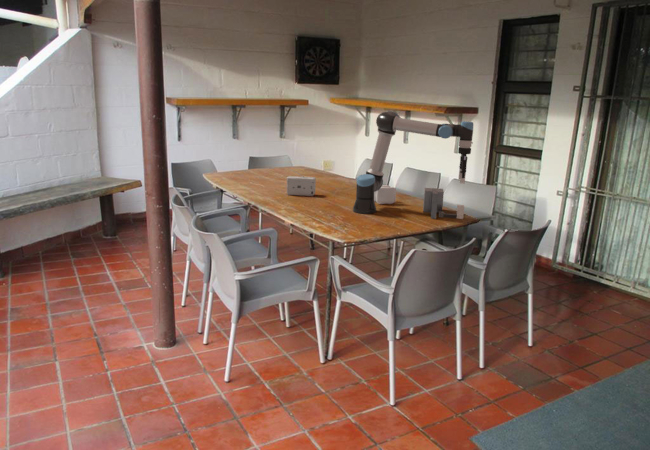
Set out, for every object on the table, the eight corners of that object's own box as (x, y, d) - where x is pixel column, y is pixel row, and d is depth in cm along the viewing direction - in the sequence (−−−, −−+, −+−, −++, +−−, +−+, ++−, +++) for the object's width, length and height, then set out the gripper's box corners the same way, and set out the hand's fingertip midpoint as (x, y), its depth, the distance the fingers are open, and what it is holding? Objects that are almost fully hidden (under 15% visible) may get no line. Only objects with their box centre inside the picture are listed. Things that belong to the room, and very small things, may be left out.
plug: (438, 217, 332) (439, 204, 330) (438, 215, 336) (439, 203, 334) (463, 218, 329) (464, 206, 327) (462, 217, 333) (463, 205, 331)
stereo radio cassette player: (315, 194, 392) (316, 167, 387) (314, 196, 384) (314, 169, 379) (287, 193, 394) (288, 166, 388) (285, 195, 386) (286, 168, 381)
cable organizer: (375, 204, 363) (376, 188, 360) (369, 201, 372) (370, 185, 369) (395, 203, 367) (396, 187, 364) (389, 200, 377) (390, 184, 374)
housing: (423, 218, 328) (425, 193, 324) (423, 208, 356) (424, 184, 352) (443, 219, 327) (445, 194, 322) (441, 209, 354) (443, 185, 350)
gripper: (473, 149, 309) (469, 185, 315) (469, 145, 333) (465, 178, 338) (460, 149, 310) (456, 184, 316) (457, 144, 334) (454, 177, 340)
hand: (461, 181), depth 327 cm, fingers open, 13 cm apart
